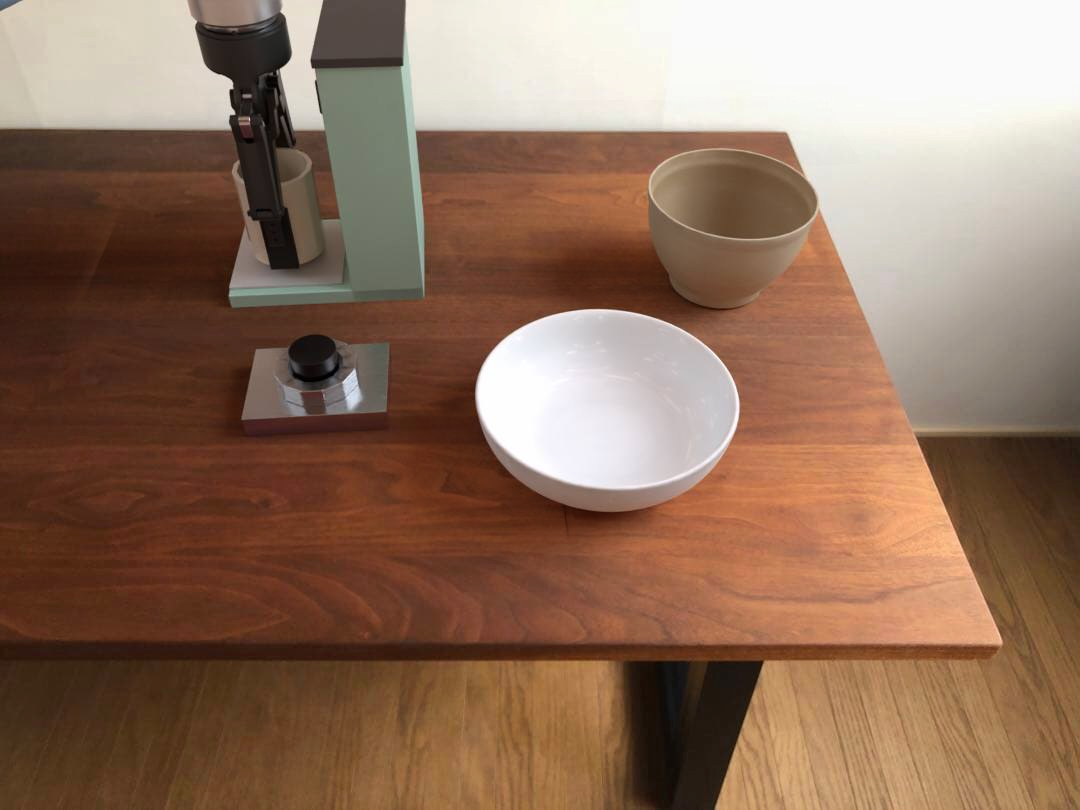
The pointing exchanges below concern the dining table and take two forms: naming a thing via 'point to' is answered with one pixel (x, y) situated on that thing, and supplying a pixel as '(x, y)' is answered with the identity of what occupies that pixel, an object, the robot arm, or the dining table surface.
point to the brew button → (313, 358)
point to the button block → (319, 393)
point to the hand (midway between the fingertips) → (289, 243)
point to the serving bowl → (606, 408)
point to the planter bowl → (727, 222)
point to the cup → (289, 206)
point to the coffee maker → (357, 169)
